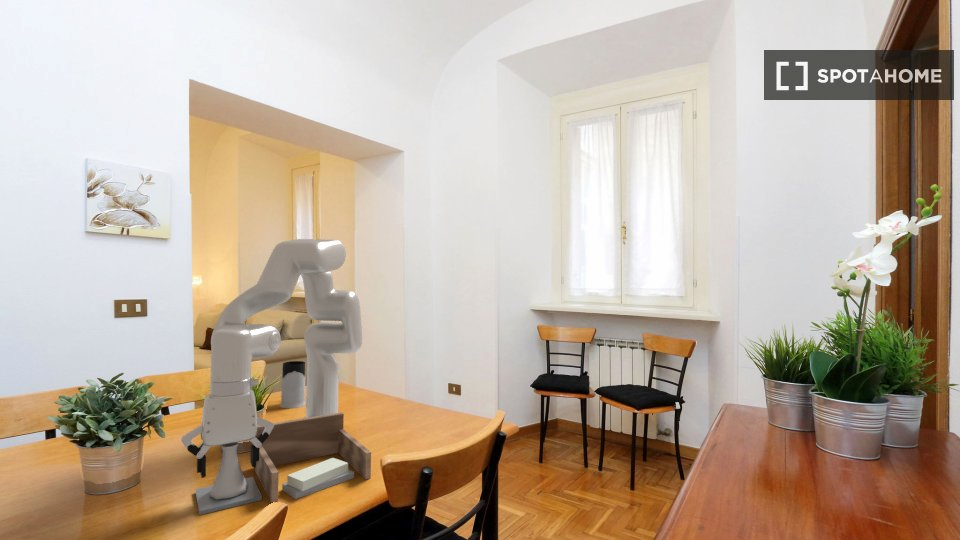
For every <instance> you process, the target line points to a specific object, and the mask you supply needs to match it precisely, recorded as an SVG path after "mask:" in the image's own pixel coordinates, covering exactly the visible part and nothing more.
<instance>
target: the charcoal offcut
mask: <svg viewBox="0 0 960 540" xmlns="http://www.w3.org/2000/svg"><path fill="white" fill-rule="evenodd" d="M354 478H355V471H353V470H351V469H349V468H348V472H346V473H344V474H342V475H339V476H337V477H335V478H332V479H330V480H328V481H325V482H323V483H321V484H318V485H316V486H314V487H312V488H309V489H307V490H305V491H301V490H299V489H296V488H294V487H292V486H290V485H287V481H286V482H283V483H282V485H281V486H282V487H281V490H282V491H283V492H284V493H286V494H287V495H288V496H289V497H291V498H293V499H294V500H297V499H300V498H303V497H307V496H308V495H312V494H314V493H317V492H319V491H323V490H325V489H327V488H331V487H333V486H335V485H336V486H337V485H338V484H342V483H344V482H347V481H350V480H352V479H354Z"/></svg>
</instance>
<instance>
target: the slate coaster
mask: <svg viewBox="0 0 960 540" xmlns="http://www.w3.org/2000/svg"><path fill="white" fill-rule="evenodd" d="M244 478H245V480H246V483H247V486H248V487H247V490H246V492H245V493H242V494H240V495H237V496H235V497H232V498H224V499H217V500H216V499H214V498H213V497H211V496H209V494H210V492H211V489H212V487H213V484H212V485H208V486H204V487H198V488H195V492H194V494H195V499H196V503H197V504H196V505H197V508H198V509H197V511H198V515H199V516H201V515H205V514H210V513H213V512H217V511H222V510H226V509H230V508H234V507H238V506H243V505H246V504H250V503H251V504H252V503H254V502H258V501H259V502H260V501H263V499H262V498H263V496H262V493H261V492H260V489H259V487H258V485H257V483H256V481H255V479H254V477H253V476H250V477H244Z"/></svg>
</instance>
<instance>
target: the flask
mask: <svg viewBox="0 0 960 540" xmlns="http://www.w3.org/2000/svg"><path fill="white" fill-rule="evenodd" d="M220 446H221V447H220V449H222V456H221V462H220V466H219V468H218V472H217V474H216V477H215V480H214V481H213V484H212V485H213V487H212V489H211V492H210V494H209V496H211V497H213V498H214V499H216V500H217V499H224V498H232V497H235V496H237V495H240V494H242V493H245V492H246V490H247V487H248V486H247V483H246V480H245V478H246V477H245V476H244V473H243V471H242V467H241V465H240V463H239V458H238V451H237V450H238V446H239V442H236V443H230V444H224V445H220Z"/></svg>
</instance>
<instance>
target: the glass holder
mask: <svg viewBox="0 0 960 540" xmlns="http://www.w3.org/2000/svg"><path fill="white" fill-rule="evenodd" d="M281 375H282V376H281V396H280V397H281V401H280V404H279V407H280V408H283V409H297V408H301V407H306V362H305V361H303V360H293V361H285V362H283V363H282V374H281Z"/></svg>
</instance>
